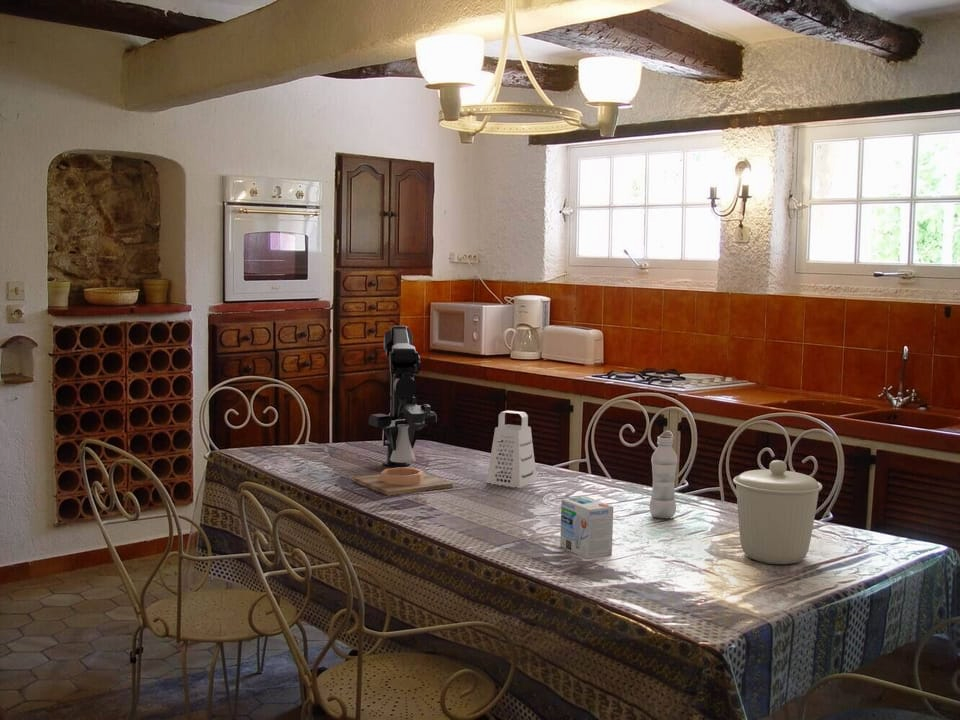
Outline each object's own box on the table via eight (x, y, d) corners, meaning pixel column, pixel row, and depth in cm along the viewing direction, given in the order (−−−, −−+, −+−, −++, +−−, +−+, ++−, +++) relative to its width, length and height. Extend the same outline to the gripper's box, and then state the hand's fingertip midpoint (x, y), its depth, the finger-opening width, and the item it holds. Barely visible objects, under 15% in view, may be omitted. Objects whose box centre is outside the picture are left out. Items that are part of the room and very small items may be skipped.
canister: (836, 567, 209) (841, 467, 207) (759, 573, 204) (764, 470, 202) (786, 543, 226) (790, 450, 224) (714, 549, 221) (718, 454, 219)
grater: (519, 488, 277) (521, 416, 275) (486, 483, 283) (487, 412, 281) (536, 481, 286) (538, 411, 284) (504, 476, 292) (505, 408, 290)
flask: (415, 464, 275) (415, 427, 274) (388, 463, 275) (388, 427, 274) (416, 458, 282) (417, 423, 281) (390, 458, 282) (391, 422, 281)
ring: (375, 478, 280) (375, 470, 280) (409, 474, 287) (409, 466, 286) (395, 486, 271) (395, 477, 271) (430, 481, 278) (430, 473, 277)
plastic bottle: (646, 519, 245) (649, 438, 243) (651, 513, 252) (654, 434, 250) (673, 522, 243) (676, 440, 241) (677, 516, 249) (680, 436, 248)
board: (353, 481, 282) (353, 477, 281) (414, 474, 293) (414, 470, 293) (388, 496, 265) (388, 491, 265) (452, 487, 277) (452, 483, 277)
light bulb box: (558, 546, 221) (560, 498, 220) (584, 543, 224) (585, 495, 223) (587, 559, 211) (588, 509, 210) (613, 555, 215) (614, 506, 214)
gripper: (388, 399, 265) (387, 457, 266) (448, 394, 275) (447, 451, 277) (367, 394, 274) (367, 450, 275) (426, 389, 284) (425, 444, 286)
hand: (402, 449), depth 278 cm, fingers closed on flask, 5 cm apart
